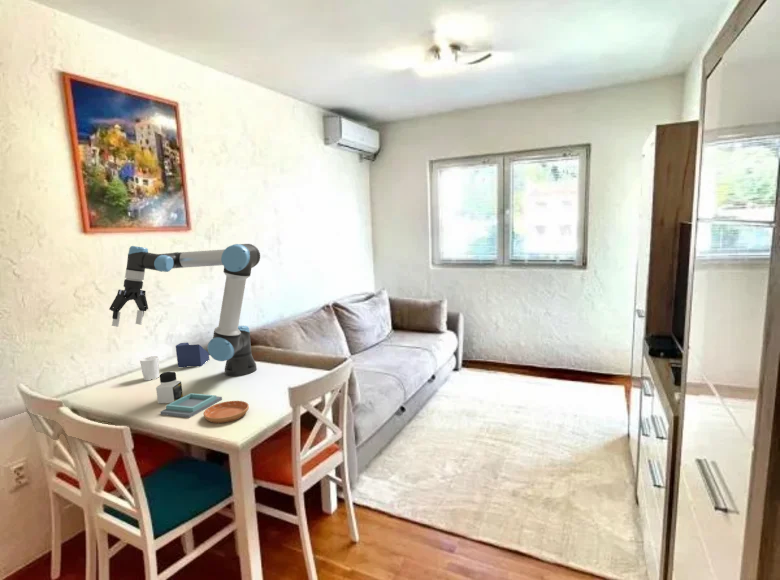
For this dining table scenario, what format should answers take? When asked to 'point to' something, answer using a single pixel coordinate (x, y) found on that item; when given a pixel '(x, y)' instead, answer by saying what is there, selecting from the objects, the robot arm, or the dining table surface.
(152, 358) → the white cup
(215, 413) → the saucer
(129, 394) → the dining table surface
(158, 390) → the medicine bottle
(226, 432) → the dining table surface
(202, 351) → the blue wedge block
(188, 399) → the dock
